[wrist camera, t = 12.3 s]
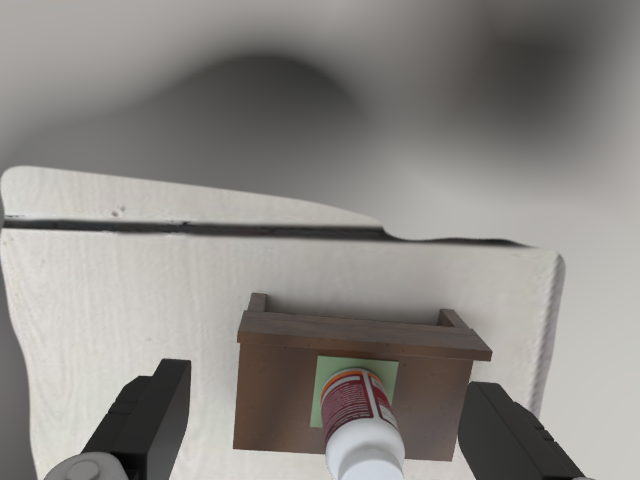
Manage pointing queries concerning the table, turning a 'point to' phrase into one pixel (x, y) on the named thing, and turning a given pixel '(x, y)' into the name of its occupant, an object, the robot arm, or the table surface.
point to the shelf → (343, 353)
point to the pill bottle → (360, 428)
